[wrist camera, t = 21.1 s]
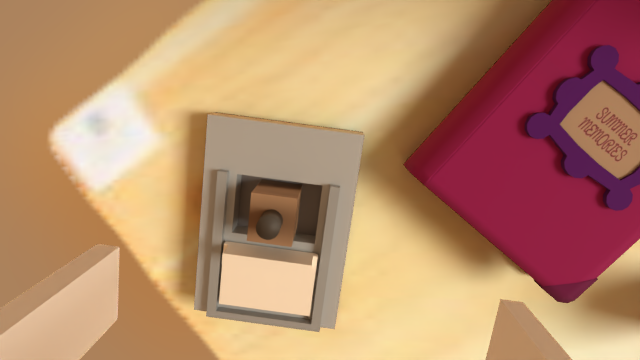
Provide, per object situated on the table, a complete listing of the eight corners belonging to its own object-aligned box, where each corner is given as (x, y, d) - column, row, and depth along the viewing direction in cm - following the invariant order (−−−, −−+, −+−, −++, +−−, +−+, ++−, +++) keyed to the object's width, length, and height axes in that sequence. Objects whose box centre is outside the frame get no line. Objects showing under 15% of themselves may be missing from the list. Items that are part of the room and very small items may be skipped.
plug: (262, 179, 47) (245, 199, 38) (302, 184, 47) (294, 206, 38) (257, 221, 48) (241, 250, 40) (297, 227, 48) (288, 257, 40)
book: (399, 162, 47) (411, 176, 39) (593, -53, 41) (649, -84, 34) (534, 277, 49) (569, 312, 42) (734, 88, 44) (816, 89, 36)
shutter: (225, 241, 46) (217, 252, 42) (318, 253, 45) (316, 266, 42) (220, 300, 47) (212, 315, 44) (310, 312, 47) (308, 328, 44)
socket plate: (215, 112, 46) (204, 115, 42) (362, 132, 46) (365, 136, 42) (202, 296, 51) (191, 314, 47) (334, 314, 51) (334, 334, 47)
